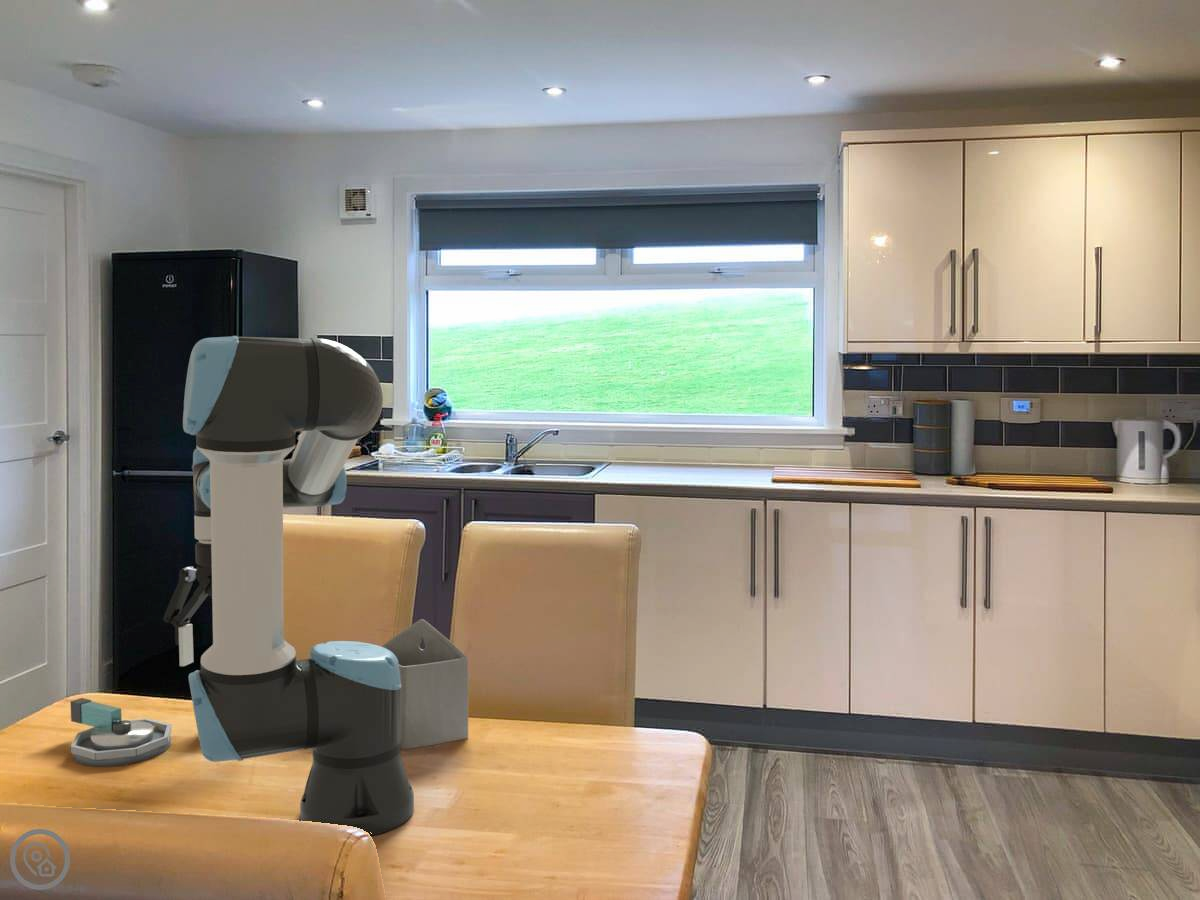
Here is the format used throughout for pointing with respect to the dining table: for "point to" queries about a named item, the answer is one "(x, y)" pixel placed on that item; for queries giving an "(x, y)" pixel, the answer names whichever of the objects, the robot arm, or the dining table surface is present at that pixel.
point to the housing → (103, 758)
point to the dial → (110, 726)
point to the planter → (430, 687)
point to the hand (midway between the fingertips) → (222, 666)
